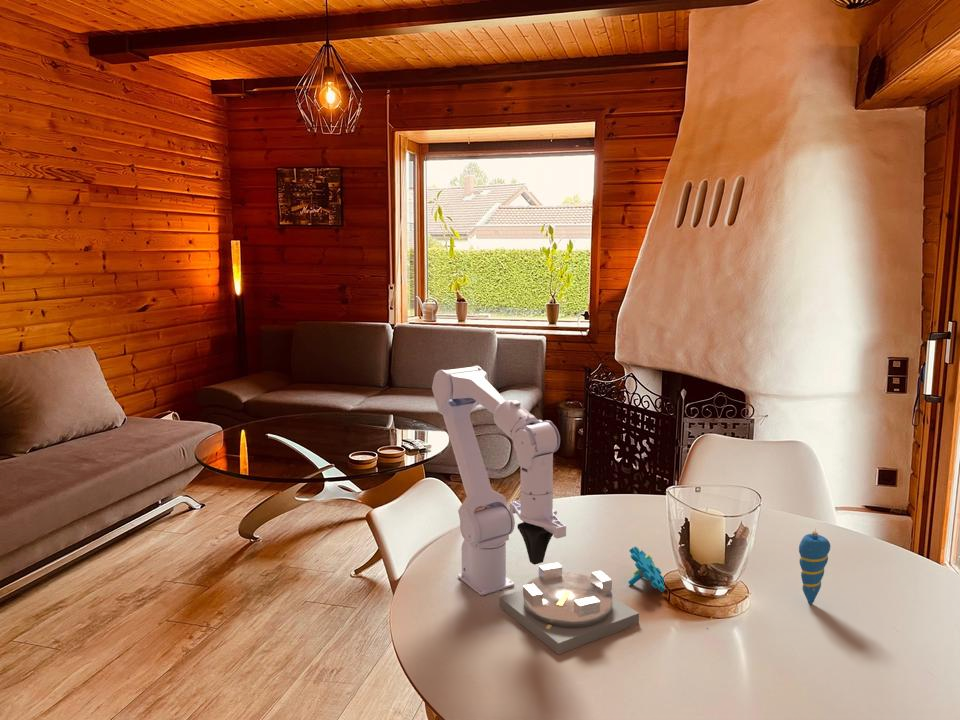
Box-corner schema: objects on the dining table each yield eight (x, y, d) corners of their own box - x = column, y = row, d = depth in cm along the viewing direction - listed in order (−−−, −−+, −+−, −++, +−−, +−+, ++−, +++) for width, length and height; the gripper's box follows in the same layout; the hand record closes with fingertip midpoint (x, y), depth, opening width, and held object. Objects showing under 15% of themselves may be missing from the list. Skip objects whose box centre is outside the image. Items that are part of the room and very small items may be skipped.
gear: (668, 594, 129) (632, 552, 131) (645, 613, 131) (609, 571, 133) (671, 576, 140) (637, 537, 142) (649, 593, 141) (616, 554, 143)
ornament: (825, 600, 130) (831, 525, 127) (826, 613, 125) (832, 536, 123) (795, 595, 132) (800, 521, 129) (795, 607, 127) (800, 531, 125)
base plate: (499, 606, 128) (499, 595, 128) (574, 582, 137) (575, 572, 137) (558, 654, 113) (558, 642, 113) (638, 623, 122) (639, 612, 122)
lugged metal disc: (540, 576, 135) (540, 557, 135) (621, 591, 129) (621, 572, 128) (510, 615, 121) (510, 594, 120) (599, 635, 114) (600, 613, 114)
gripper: (580, 497, 117) (579, 572, 119) (531, 475, 130) (531, 543, 132) (547, 505, 114) (547, 582, 116) (499, 481, 126) (500, 551, 128)
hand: (536, 562), depth 123 cm, fingers closed
